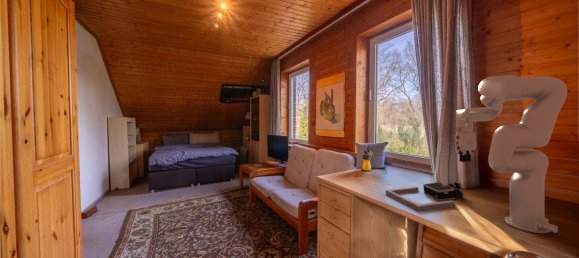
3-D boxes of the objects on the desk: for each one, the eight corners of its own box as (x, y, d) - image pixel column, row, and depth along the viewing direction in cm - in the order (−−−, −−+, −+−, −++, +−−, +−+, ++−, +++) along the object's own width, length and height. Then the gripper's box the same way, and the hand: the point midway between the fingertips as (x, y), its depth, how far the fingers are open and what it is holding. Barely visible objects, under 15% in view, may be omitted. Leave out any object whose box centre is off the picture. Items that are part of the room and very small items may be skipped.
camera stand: (454, 206, 108) (454, 201, 108) (418, 211, 104) (418, 206, 104) (416, 190, 134) (415, 186, 134) (385, 194, 130) (385, 190, 130)
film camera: (449, 191, 130) (469, 200, 115) (422, 195, 130) (439, 204, 115) (447, 178, 130) (467, 185, 115) (420, 182, 130) (437, 189, 115)
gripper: (459, 131, 118) (459, 163, 119) (483, 129, 121) (483, 161, 122) (446, 130, 126) (447, 161, 126) (469, 129, 128) (470, 159, 129)
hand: (465, 161), depth 124 cm, fingers open, 3 cm apart
